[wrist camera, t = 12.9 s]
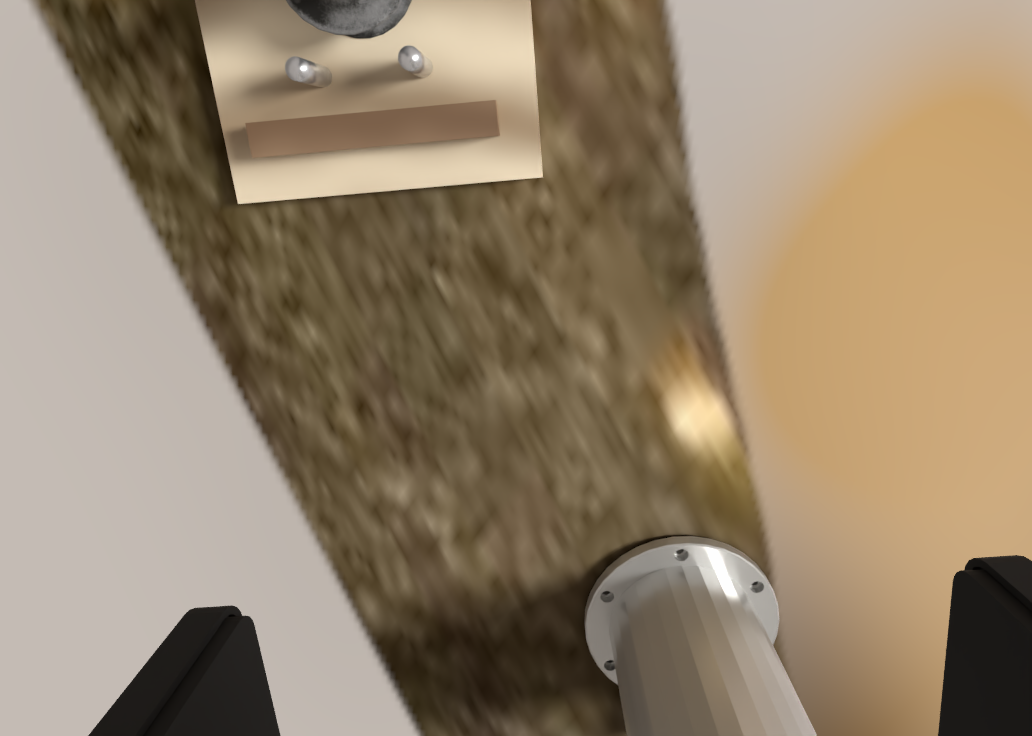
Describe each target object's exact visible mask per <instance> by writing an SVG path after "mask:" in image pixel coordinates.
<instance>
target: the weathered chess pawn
mask: <svg viewBox="0 0 1032 736" xmlns="http://www.w3.org/2000/svg"><path fill="white" fill-rule="evenodd" d="M286 1H287V3H288V5H289V6H290V7H291V8H292V9H293V10H294V11H295V12H296V13H297V14H298V15H299V16H300V17H301V18H302V19H303V20H304V21H306V22H307V23H309V24H311V25H312V26H314V27H316V28H317V29H319V30H321V31H325V32H328V33H332V34H335V35H346V36H349V37H353V38H373V37H376V36H379V35H383V34H385V33H386V32H388V31H389V30H391V29H392V28H394V27H395V26H396V25H397V24H398V23H399V22H400V20H401V19H402V18H403V17H404V16H405V14H406V12H407V10H408V8H409V6H410V3H411V1H412V0H286Z"/></svg>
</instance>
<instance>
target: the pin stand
mask: <svg viewBox="0 0 1032 736" xmlns="http://www.w3.org/2000/svg"><path fill="white" fill-rule="evenodd" d="M195 4H196V8H197V13H198V18H199V22H200V27H201V32H202V37H203V41H204V46H205V51H206V55H207V60H208V65H209V70H210V74H211V79H212V84H213V88H214V93H215V98H216V102H217V107H218V112H219V117H220V121H221V126H222V131H223V135H224V140H225V145H226V150H227V154H228V159H229V164H230V168H231V173H232V178H233V183H234V187H235V192H236V197H237V201H238V204H245V203H256V202H268V201H279V200H290V199H302V198H313V197H325V196H336V195H347V194H359V193H370V192H381V191H393V190H404V189H416V188H427V187H438V186H450V185H461V184H472V183H484V182H495V181H507V180H518V179H529V178H541V177H543V173H542V158H541V144H540V130H539V115H538V101H537V87H536V73H535V58H534V44H533V30H532V16H531V1H530V0H412V1H411V3H410V6H409V8H408V10H407V12H406V14H405V16H404V17H403V18H402V19H401V20H400V22H399V23H398V24H397V25H396V26H395V27H394V28H392V29H391V30H389V31H388V32H386V33H385V34H383V35H379V36H376V37H373V38H353V37H349V36H346V35H335V34H332V33H328V32H325V31H321V30H319V29H317V28H316V27H314V26H312V25H311V24H309V23H307V22H306V21H304V20H303V19H302V18H301V17H300V16H299V15H298V14H297V13H296V12H295V11H294V10H293V9H292V8H291V7H290V6H289V5H288V3H287V1H286V0H195Z"/></svg>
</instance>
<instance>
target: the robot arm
mask: <svg viewBox="0 0 1032 736" xmlns="http://www.w3.org/2000/svg"><path fill="white" fill-rule="evenodd" d="M950 608H951V609H950V618H949V628H948V638H947V639H948V640H947V649H946V660H945V670H944V680H943V681H944V682H943V691H942V702H941V711H940V723H939V733H938V736H1032V561H1031V560H1029V559H1027V558H1026V557H1024V556H1017V555H1015V556H1000V557H985V558H973V559H971V560H969V561H968V563H967V564H966V566H965V570H964V571H959V572H957V573H956V574H955V576H954V579H953V587H952V597H951V607H950ZM584 625H585V633H586V641H587V644H588V647H589V650H590V654H591V656H592V657H593V659H594V661H595V662H596V664H597V666H598V667H599V668H600V670H601V671H602V672H603V673H604V674H605V675H606V676H607V677H608V678H609V679H610V680H611V681H613V682H614V683H615V684H617V685H618V687H619V693H620V699H621V705H622V710H623V716H624V722H625V728H626V734H627V736H817V735H816V733H815V731H814V729H813V727H812V725H811V723H810V720H809V718H808V716H807V714H806V712H805V710H804V708H803V706H802V704H801V702H800V700H799V698H798V696H797V694H796V692H795V690H794V688H793V686H792V684H791V682H790V680H789V677H788V675H787V673H786V671H785V669H784V667H783V665H782V663H781V661H780V659H779V657H778V655H777V653H776V651H775V649H774V647H773V644H774V641H775V639H776V636H777V631H778V625H779V610H778V603H777V600H776V597H775V594H774V590H773V589H772V587H771V585H770V583H769V581H768V579H767V577H766V576H765V574H764V573H763V572H762V570H761V569H760V568H759V567H758V565H757V564H756V563H755V562H754V561H753V560H751V559H750V558H749V557H748V556H747V555H746V554H744V553H743V552H741V551H739V550H738V549H736V548H734V547H732V546H730V545H728V544H726V543H722V542H719V541H716V540H713V539H709V538H702V537H695V536H678V537H669V538H664V539H658V540H654V541H651V542H649V543H646V544H643V545H640V546H638V547H636V548H634V549H632V550H630V551H629V552H627V553H625V554H623V555H622V556H620V557H619V558H618V559H617V560H615V561H614V562H613V563H612V564H611V565H609V566H608V567H607V568H606V570H605V571H604V572H603V573H602V574H601V576H600V577H599V578H598V579H597V581H596V583H595V584H594V586H593V588H592V590H591V592H590V594H589V597H588V600H587V604H586V607H585V620H584ZM89 736H280V733H279V728H278V724H277V720H276V715H275V711H274V707H273V702H272V698H271V694H270V690H269V685H268V681H267V677H266V673H265V668H264V664H263V660H262V656H261V652H260V647H259V643H258V639H257V634H256V630H255V626H254V623H253V620H252V619H251V618H250V617H249V616H242V614H241V612H240V610H239V609H238V608H237V607H235V606H220V607H204V608H194V609H191V610H189V611H188V612H187V613H186V614H185V615H184V616H183V618H182V619H181V620H180V621H179V623H178V624H177V625H176V626H175V628H174V629H173V630H172V631H171V633H170V634H169V635H168V636H167V638H166V639H165V640H164V641H163V643H162V644H161V645H160V646H159V648H158V649H157V650H156V651H155V653H154V654H153V655H152V656H151V658H150V659H149V660H148V662H147V663H146V664H145V665H144V666H143V668H142V669H141V670H140V672H139V673H138V674H137V675H136V677H135V678H134V679H133V680H132V682H131V683H130V684H129V685H128V687H127V688H126V689H125V690H124V692H123V693H122V694H121V695H120V697H119V698H118V699H117V700H116V702H115V703H114V704H113V705H112V707H111V708H110V709H109V710H108V712H107V713H106V714H105V715H104V717H103V718H102V719H101V721H100V722H99V723H98V724H97V725H96V727H95V728H94V729H93V731H92V732H91V733H90V734H89Z"/></svg>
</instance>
